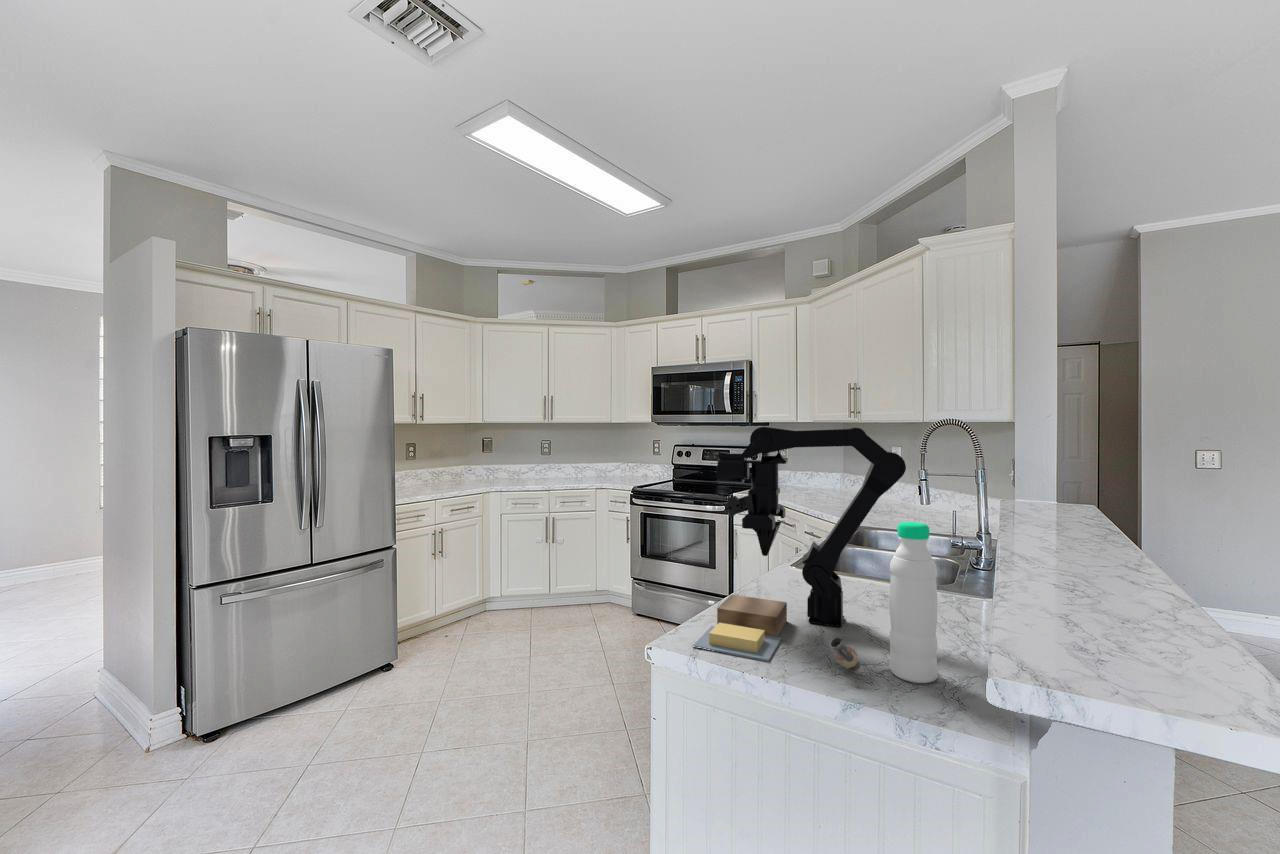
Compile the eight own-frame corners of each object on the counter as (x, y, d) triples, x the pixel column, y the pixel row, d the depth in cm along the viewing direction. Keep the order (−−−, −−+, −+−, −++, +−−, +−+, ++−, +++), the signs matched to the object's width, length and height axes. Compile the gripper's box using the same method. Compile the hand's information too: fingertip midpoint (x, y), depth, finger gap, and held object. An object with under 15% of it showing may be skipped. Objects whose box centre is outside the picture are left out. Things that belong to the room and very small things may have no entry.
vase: (840, 682, 87) (838, 644, 87) (822, 670, 92) (820, 634, 93) (870, 678, 88) (868, 640, 88) (851, 666, 93) (849, 631, 94)
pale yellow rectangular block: (756, 641, 97) (756, 652, 97) (764, 630, 103) (764, 640, 103) (709, 632, 101) (709, 643, 101) (719, 622, 107) (719, 632, 107)
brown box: (786, 621, 114) (786, 602, 114) (776, 637, 105) (776, 617, 105) (731, 612, 119) (731, 594, 119) (717, 627, 110) (717, 608, 110)
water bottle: (881, 666, 93) (881, 520, 93) (920, 664, 93) (920, 519, 93) (904, 686, 86) (904, 527, 86) (947, 684, 86) (947, 527, 86)
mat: (781, 639, 104) (781, 637, 104) (768, 661, 94) (768, 659, 94) (711, 627, 110) (711, 625, 110) (692, 647, 100) (692, 645, 100)
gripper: (738, 479, 130) (738, 544, 130) (717, 486, 113) (718, 561, 113) (785, 480, 126) (785, 547, 126) (771, 489, 109) (772, 567, 109)
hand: (765, 555), depth 118 cm, fingers closed
